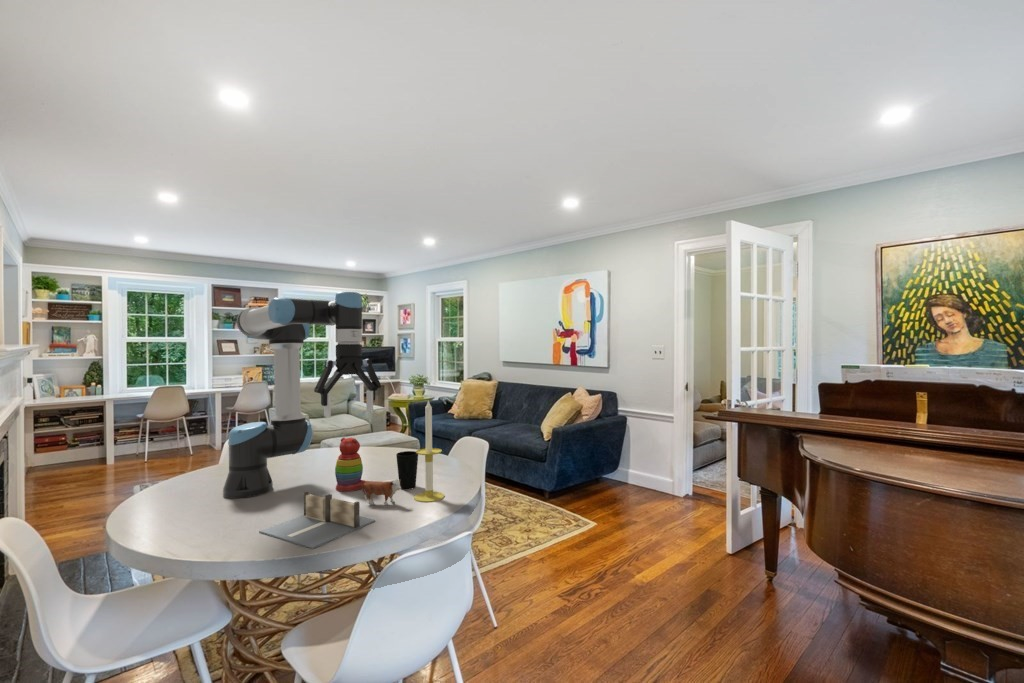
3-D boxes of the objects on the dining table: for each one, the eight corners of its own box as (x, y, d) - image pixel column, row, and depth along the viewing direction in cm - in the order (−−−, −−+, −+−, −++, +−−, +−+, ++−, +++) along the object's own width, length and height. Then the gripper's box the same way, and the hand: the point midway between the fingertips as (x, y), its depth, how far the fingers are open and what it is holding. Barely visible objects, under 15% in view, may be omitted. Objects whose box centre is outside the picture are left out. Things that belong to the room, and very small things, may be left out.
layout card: (259, 532, 128) (259, 530, 128) (324, 508, 147) (324, 507, 147) (312, 549, 117) (312, 547, 117) (375, 521, 136) (375, 519, 136)
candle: (443, 501, 152) (442, 400, 152) (412, 502, 151) (411, 401, 151) (445, 492, 162) (444, 397, 162) (415, 493, 161) (415, 398, 161)
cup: (423, 486, 169) (422, 452, 169) (407, 491, 163) (407, 457, 163) (407, 482, 173) (407, 450, 173) (391, 488, 167) (391, 454, 167)
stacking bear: (371, 485, 170) (371, 436, 170) (351, 493, 161) (350, 441, 161) (348, 482, 175) (348, 434, 175) (327, 489, 166) (327, 439, 166)
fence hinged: (330, 520, 134) (330, 497, 134) (334, 519, 135) (334, 496, 135) (356, 527, 129) (356, 503, 129) (360, 526, 130) (360, 502, 130)
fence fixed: (302, 515, 140) (301, 490, 140) (307, 513, 141) (307, 489, 141) (328, 522, 134) (328, 496, 134) (333, 520, 136) (333, 494, 136)
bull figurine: (399, 507, 147) (399, 481, 147) (360, 504, 150) (360, 479, 150) (405, 502, 151) (405, 477, 151) (367, 500, 154) (366, 475, 154)
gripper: (313, 343, 130) (313, 420, 130) (392, 343, 148) (392, 410, 148) (301, 343, 135) (302, 417, 135) (379, 343, 153) (379, 408, 153)
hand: (349, 414), depth 142 cm, fingers open, 13 cm apart
